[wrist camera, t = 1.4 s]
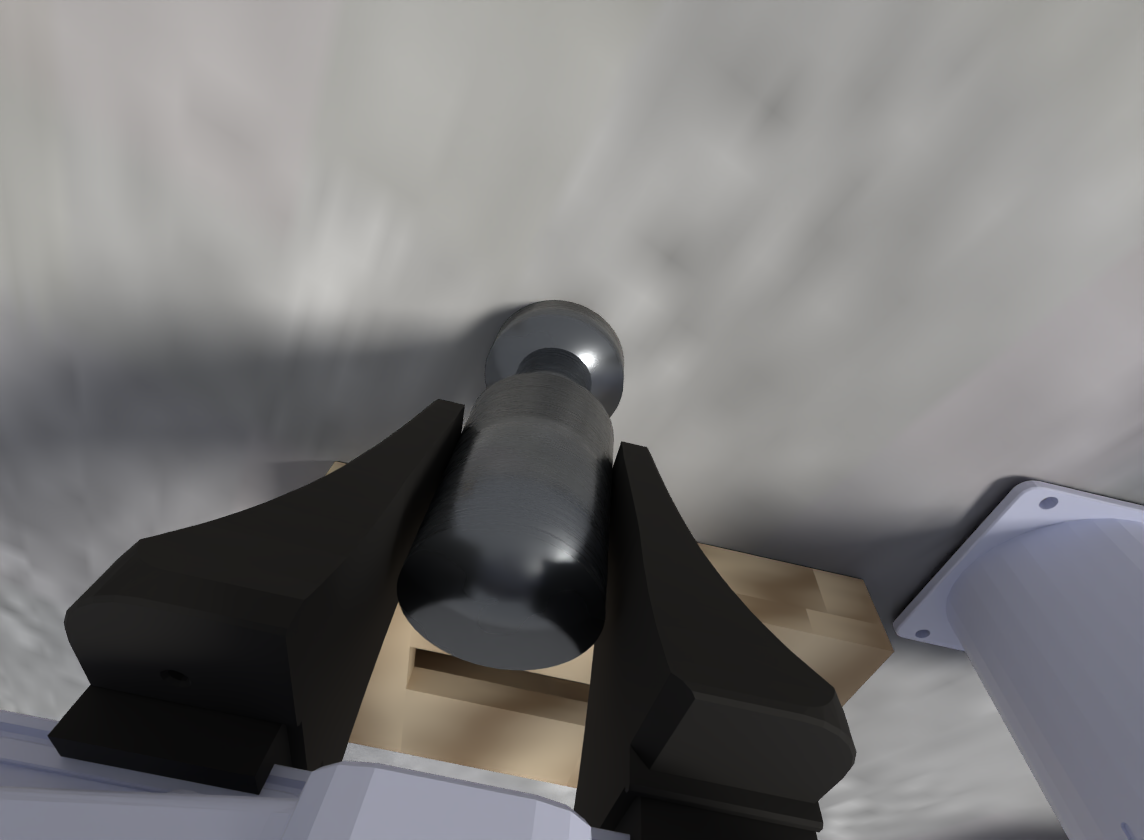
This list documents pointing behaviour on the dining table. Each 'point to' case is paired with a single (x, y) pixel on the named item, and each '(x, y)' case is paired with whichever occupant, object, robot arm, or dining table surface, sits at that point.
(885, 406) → the dining table surface
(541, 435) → the key peg
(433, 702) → the keyhole plate
